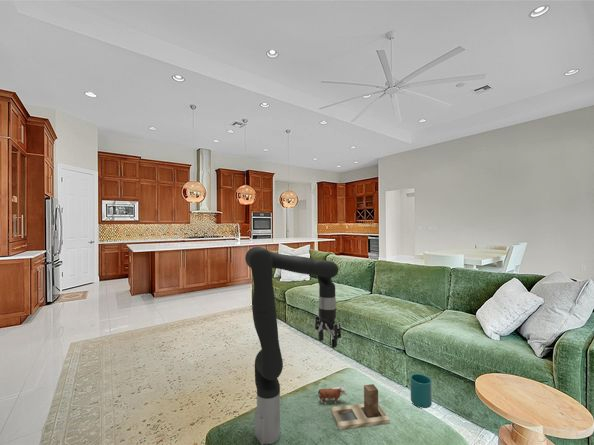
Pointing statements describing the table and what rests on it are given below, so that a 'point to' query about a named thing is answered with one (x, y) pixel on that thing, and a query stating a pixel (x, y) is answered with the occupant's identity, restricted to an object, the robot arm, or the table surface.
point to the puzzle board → (356, 417)
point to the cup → (421, 390)
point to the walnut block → (370, 401)
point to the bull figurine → (331, 393)
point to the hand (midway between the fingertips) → (327, 343)
